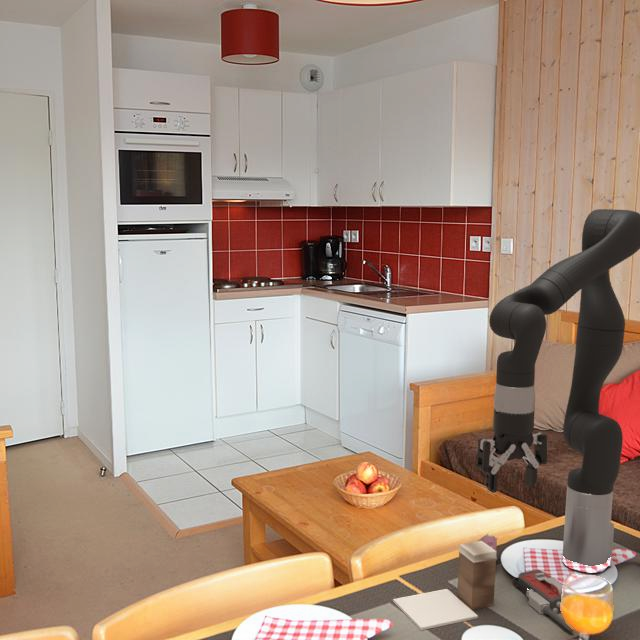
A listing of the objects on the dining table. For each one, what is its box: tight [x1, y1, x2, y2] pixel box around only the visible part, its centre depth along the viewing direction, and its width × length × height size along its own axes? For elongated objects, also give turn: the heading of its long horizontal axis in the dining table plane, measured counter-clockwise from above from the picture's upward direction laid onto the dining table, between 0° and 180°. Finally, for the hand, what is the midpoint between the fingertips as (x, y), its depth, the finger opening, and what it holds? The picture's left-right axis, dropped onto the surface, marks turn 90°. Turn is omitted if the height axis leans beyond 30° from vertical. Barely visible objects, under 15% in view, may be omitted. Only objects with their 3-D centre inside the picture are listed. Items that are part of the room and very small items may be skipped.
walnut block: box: [456, 540, 497, 611], centre depth 152 cm, size 5×5×11 cm
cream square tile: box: [392, 588, 479, 631], centre depth 150 cm, size 12×11×1 cm
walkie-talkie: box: [512, 569, 574, 632], centre depth 152 cm, size 9×4×20 cm
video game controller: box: [475, 533, 498, 561], centre depth 169 cm, size 10×5×7 cm, turn 169°
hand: (511, 488), depth 153 cm, fingers open, 8 cm apart
